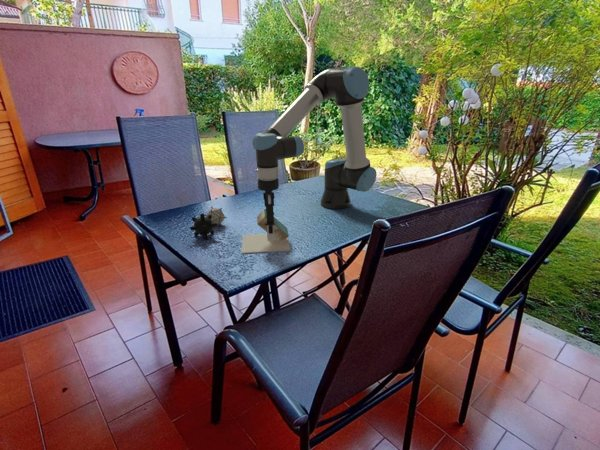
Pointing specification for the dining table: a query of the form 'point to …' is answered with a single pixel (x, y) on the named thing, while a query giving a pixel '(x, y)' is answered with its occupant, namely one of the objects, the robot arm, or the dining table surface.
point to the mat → (262, 244)
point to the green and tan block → (279, 228)
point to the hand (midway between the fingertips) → (270, 235)
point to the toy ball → (203, 225)
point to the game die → (216, 215)
